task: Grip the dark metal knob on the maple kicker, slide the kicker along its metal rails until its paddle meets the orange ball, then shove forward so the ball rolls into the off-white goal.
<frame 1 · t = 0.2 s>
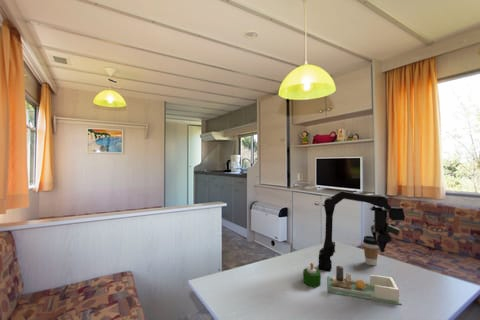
hand: (380, 249, 126), 14 cm above the table, tool pointing down, fingers open, 9 cm apart
ball: (360, 284, 113), point 2 cm above the table, touching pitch
coffee cup: (371, 263, 142), on the table
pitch: (362, 290, 113), on the table
candle: (311, 283, 120), on the table
kicker: (342, 276, 116), point 5 cm above the table, slide at 0.0 cm
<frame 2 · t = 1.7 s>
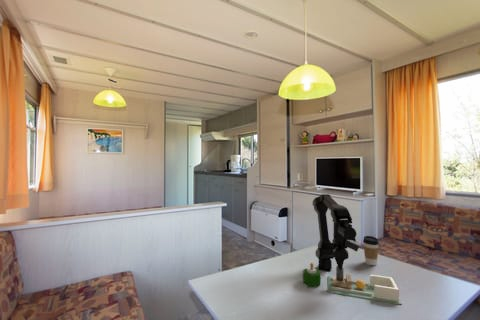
hand: (339, 265, 116), 10 cm above the table, tool pointing down, fingers open, 9 cm apart
nothing on the table moved.
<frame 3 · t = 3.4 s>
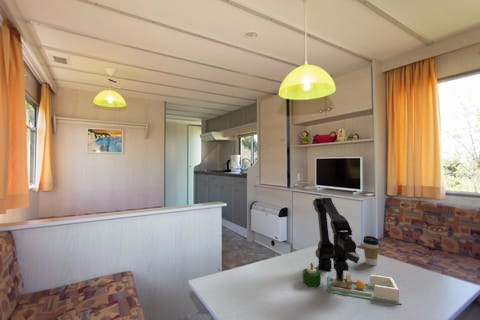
hand: (339, 277, 116), 5 cm above the table, tool pointing down, fingers closed on kicker, 3 cm apart
kicker: (342, 276, 116), point 5 cm above the table, slide at 0.0 cm, touching gripper
everything else where it was.
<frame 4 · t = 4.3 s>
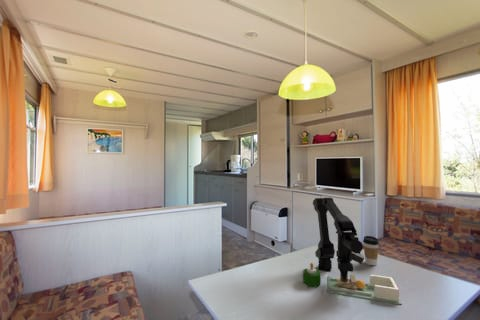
hand: (344, 277, 116), 5 cm above the table, tool pointing down, fingers closed on kicker, 3 cm apart
kicker: (346, 276, 115), point 5 cm above the table, slide at 1.9 cm, touching gripper
everything else where it was.
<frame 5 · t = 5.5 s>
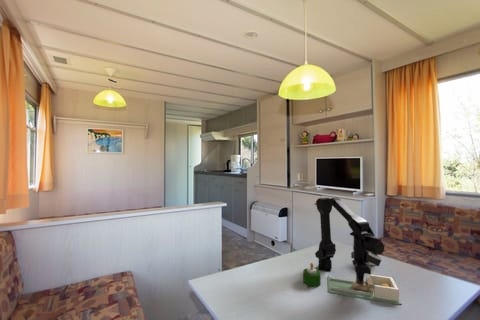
hand: (360, 279, 113), 5 cm above the table, tool pointing down, fingers closed on kicker, 3 cm apart
ball: (385, 288, 110), point 2 cm above the table, tilted 70°, touching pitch
kicker: (362, 279, 113), point 5 cm above the table, slide at 8.8 cm, touching gripper
everything else where it was.
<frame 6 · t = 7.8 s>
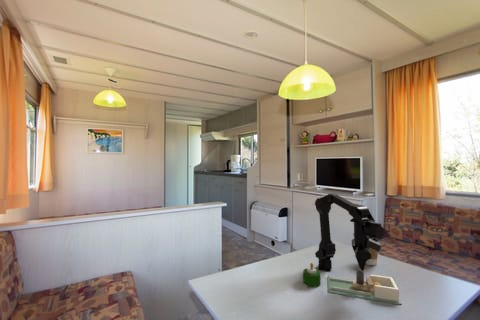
hand: (360, 266, 113), 11 cm above the table, tool pointing down, fingers open, 9 cm apart
ball: (377, 287, 111), point 2 cm above the table, tilted 164°, touching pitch
kicker: (362, 279, 113), point 5 cm above the table, slide at 8.9 cm
everything else where it was.
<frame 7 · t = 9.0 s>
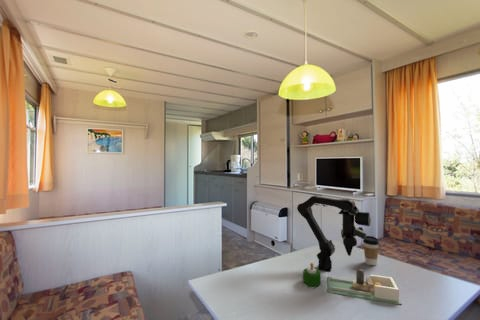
hand: (348, 252, 128), 12 cm above the table, tool pointing down, fingers open, 9 cm apart
nothing on the table moved.
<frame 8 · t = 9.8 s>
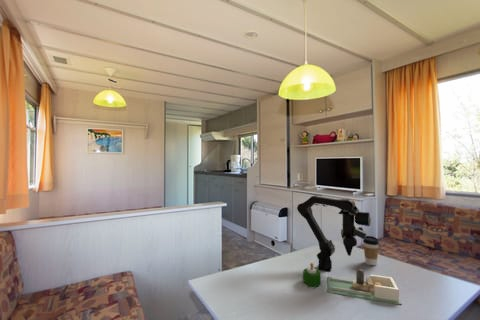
hand: (348, 252, 128), 12 cm above the table, tool pointing down, fingers open, 9 cm apart
nothing on the table moved.
at the end: ball inside the target area (1.8 cm from its centre), point 2.4 cm above the table; kicker slide at 8.9 cm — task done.
